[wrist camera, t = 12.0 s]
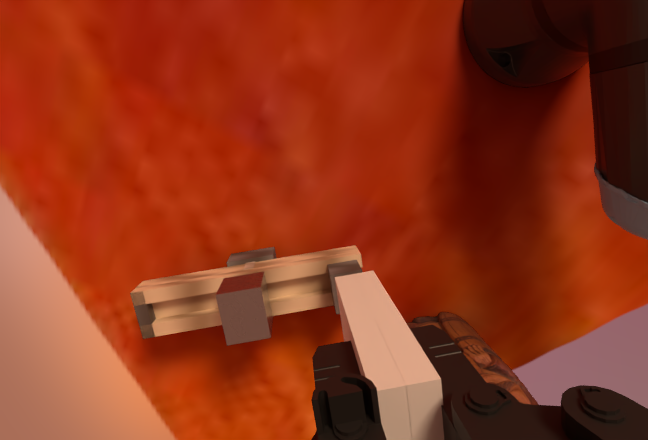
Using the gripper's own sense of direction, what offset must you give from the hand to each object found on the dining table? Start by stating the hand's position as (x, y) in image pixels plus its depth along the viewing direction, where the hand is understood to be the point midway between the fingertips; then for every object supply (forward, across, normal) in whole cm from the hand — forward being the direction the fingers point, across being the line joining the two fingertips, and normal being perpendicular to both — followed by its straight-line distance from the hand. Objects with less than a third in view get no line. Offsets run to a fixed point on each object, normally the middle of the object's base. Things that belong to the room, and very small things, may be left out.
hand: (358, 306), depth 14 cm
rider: (+23, -8, -8) cm, 26 cm away
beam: (+28, -8, -8) cm, 31 cm away
